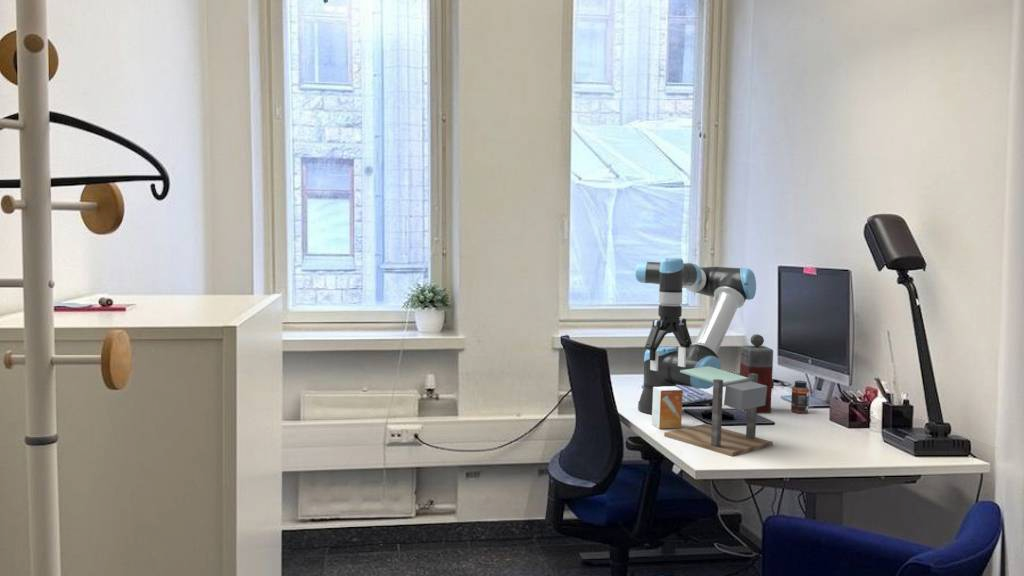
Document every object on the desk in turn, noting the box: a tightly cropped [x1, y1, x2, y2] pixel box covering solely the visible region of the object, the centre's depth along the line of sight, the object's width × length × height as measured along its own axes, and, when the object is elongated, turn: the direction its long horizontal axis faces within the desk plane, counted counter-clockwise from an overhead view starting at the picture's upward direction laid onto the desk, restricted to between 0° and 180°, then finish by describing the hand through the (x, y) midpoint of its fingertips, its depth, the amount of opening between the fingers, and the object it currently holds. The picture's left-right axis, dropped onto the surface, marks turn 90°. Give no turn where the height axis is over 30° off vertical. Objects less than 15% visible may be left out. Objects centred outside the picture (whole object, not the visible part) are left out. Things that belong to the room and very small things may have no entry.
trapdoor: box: [680, 366, 767, 411], centre depth 236 cm, size 14×23×7 cm, turn 37°
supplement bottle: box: [790, 380, 810, 414], centre depth 279 cm, size 6×6×11 cm
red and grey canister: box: [739, 333, 774, 414], centre depth 281 cm, size 9×11×28 cm
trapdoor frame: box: [663, 373, 774, 457], centre depth 238 cm, size 20×26×21 cm
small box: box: [651, 385, 684, 430], centre depth 255 cm, size 8×6×13 cm
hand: (668, 368), depth 254 cm, fingers open, 13 cm apart
